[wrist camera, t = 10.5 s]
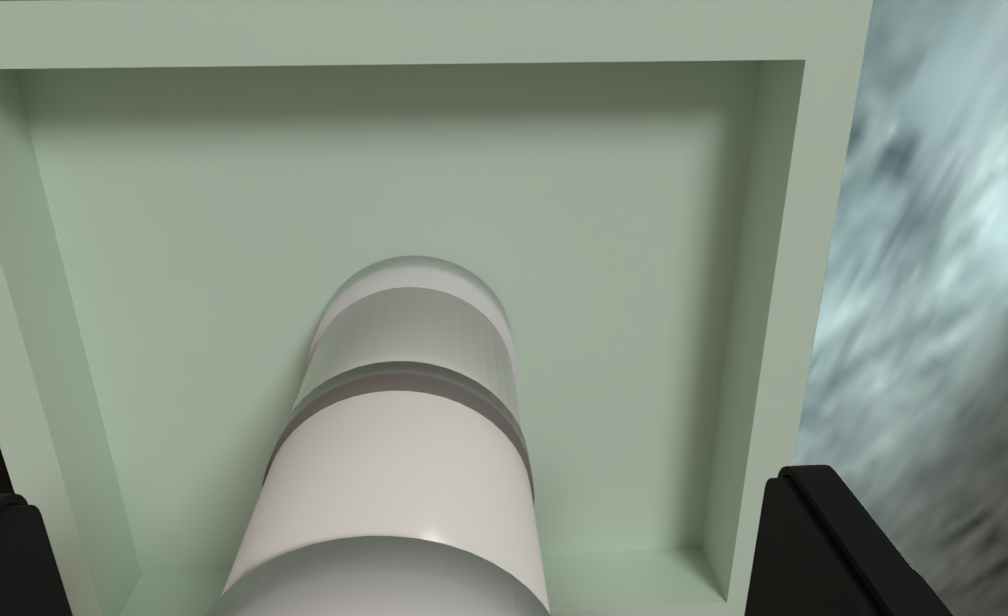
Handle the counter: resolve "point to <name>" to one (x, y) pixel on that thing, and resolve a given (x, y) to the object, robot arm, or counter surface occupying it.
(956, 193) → the counter surface
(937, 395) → the counter surface
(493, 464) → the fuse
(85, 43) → the parts tray
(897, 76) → the counter surface
